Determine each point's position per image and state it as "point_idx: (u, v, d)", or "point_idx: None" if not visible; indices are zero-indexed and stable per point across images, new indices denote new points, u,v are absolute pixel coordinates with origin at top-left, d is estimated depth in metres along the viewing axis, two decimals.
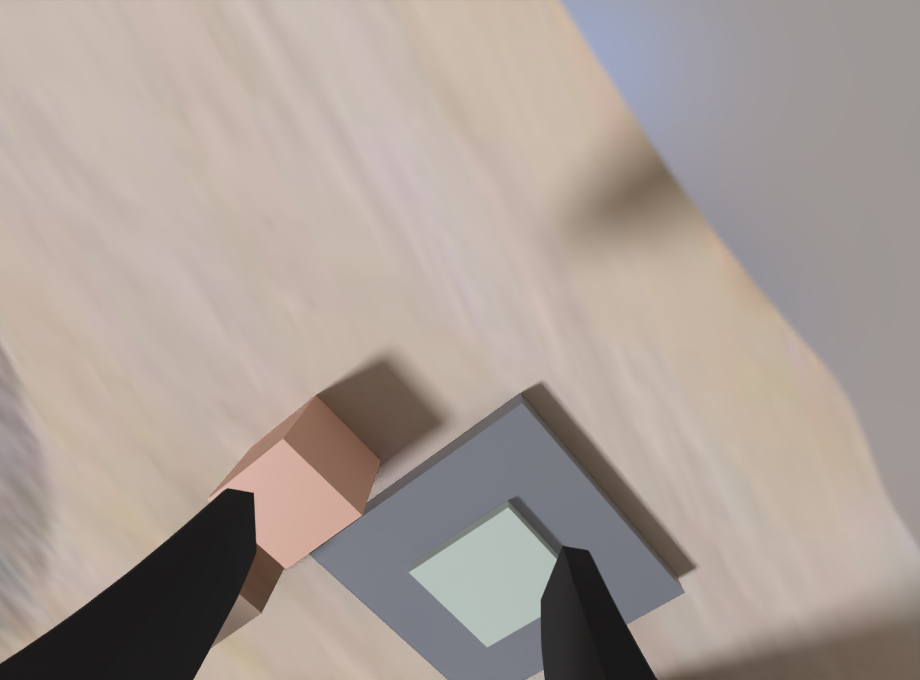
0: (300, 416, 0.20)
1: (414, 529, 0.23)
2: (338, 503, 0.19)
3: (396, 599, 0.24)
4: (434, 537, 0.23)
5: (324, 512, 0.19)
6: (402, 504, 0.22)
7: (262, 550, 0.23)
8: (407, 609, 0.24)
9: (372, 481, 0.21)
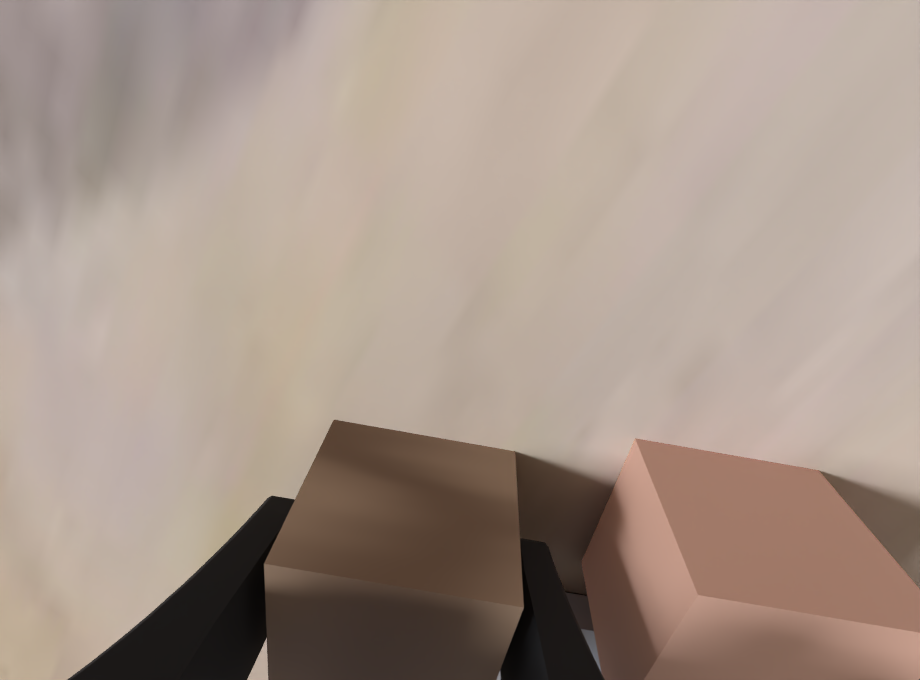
0: (878, 543, 0.09)
1: None
2: None
3: None
4: None
5: None
6: None
7: None
8: None
9: None
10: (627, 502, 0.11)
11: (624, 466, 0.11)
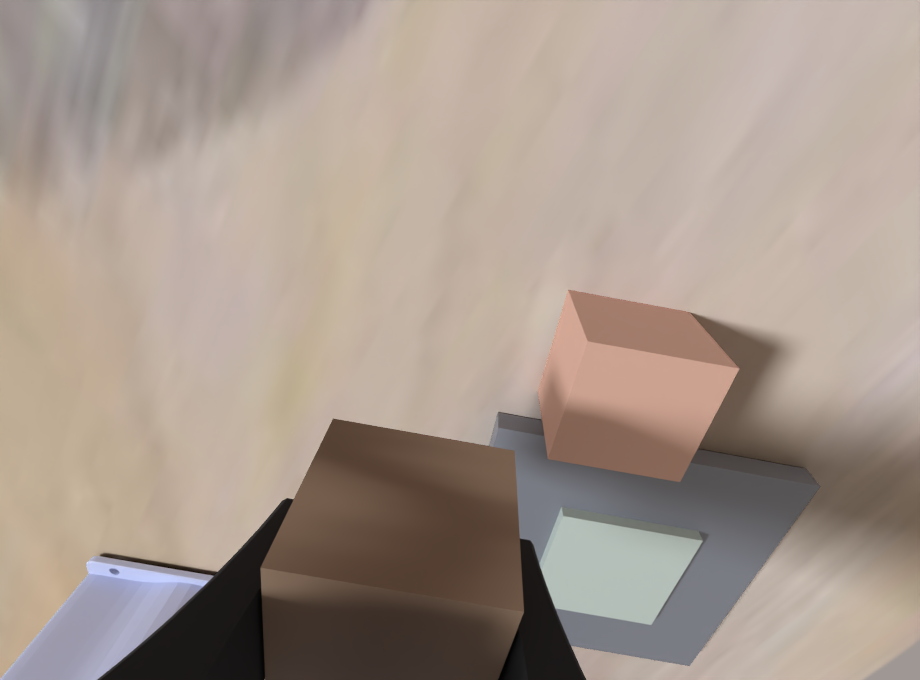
0: (711, 338, 0.15)
1: (607, 489, 0.20)
2: (681, 457, 0.15)
3: None
4: (610, 506, 0.20)
5: (658, 452, 0.15)
6: None
7: None
8: None
9: None
10: (562, 329, 0.17)
11: (562, 311, 0.17)
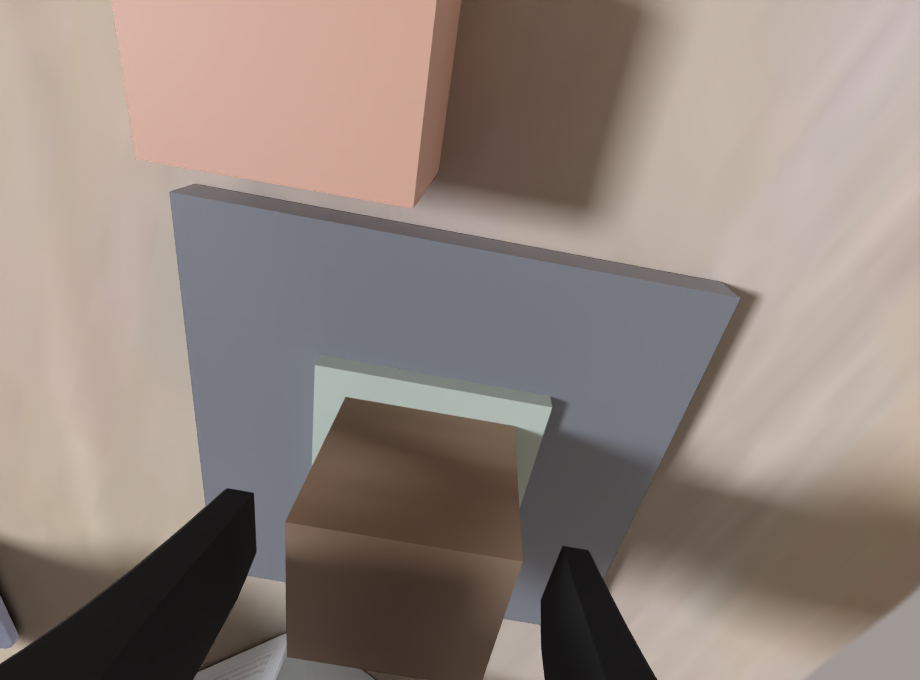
0: None
1: (385, 317, 0.12)
2: (397, 137, 0.07)
3: (245, 380, 0.13)
4: (399, 352, 0.12)
5: (348, 124, 0.07)
6: (412, 265, 0.11)
7: None
8: (247, 404, 0.13)
9: (430, 180, 0.09)
10: None
11: None
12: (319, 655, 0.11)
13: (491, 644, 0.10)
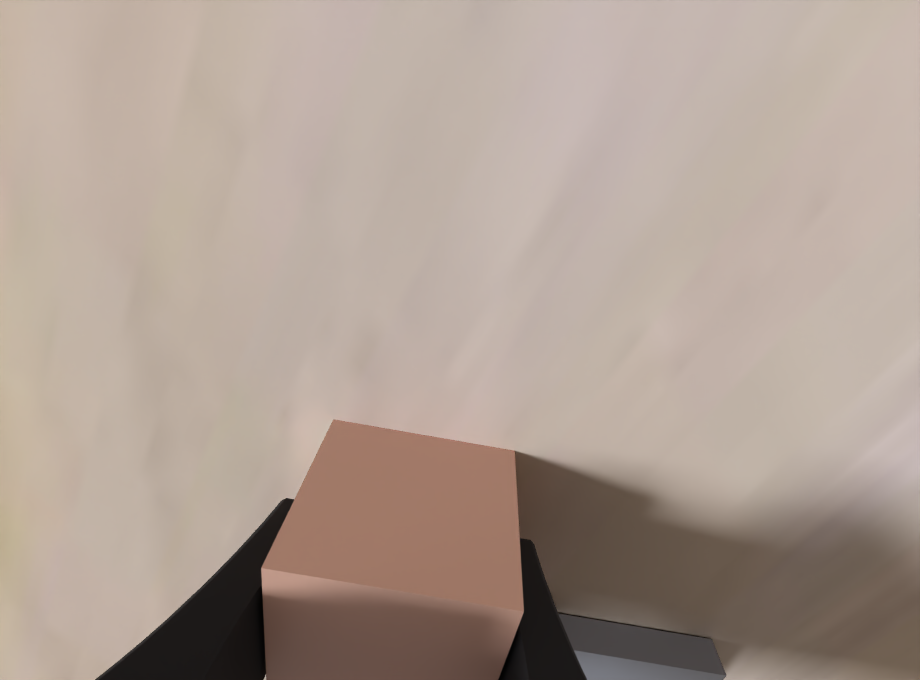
0: (517, 522, 0.10)
1: None
2: None
3: None
4: None
5: None
6: None
7: None
8: None
9: None
10: None
11: None
12: None
13: None
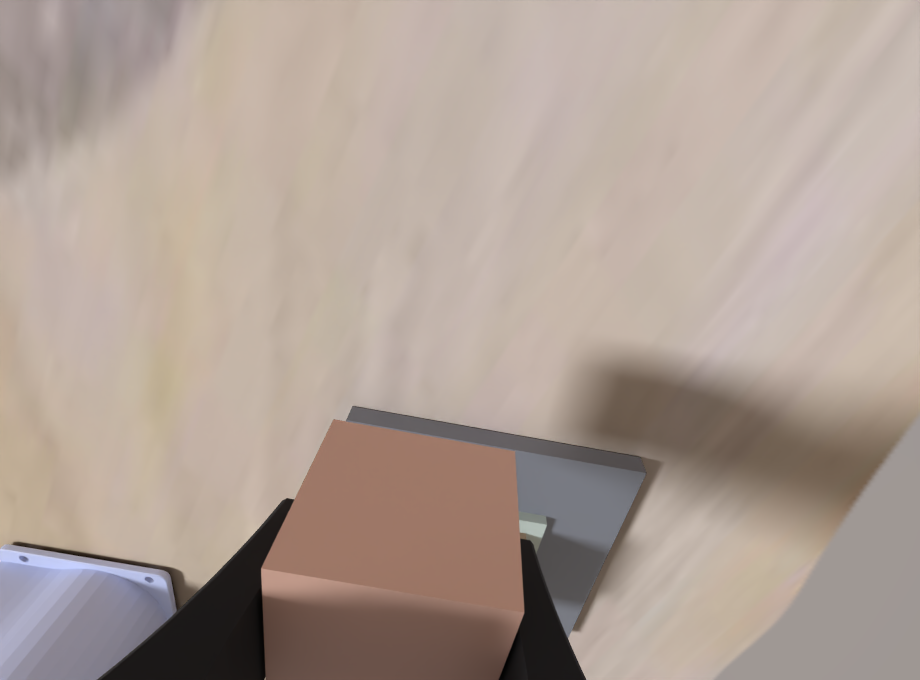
0: (518, 523, 0.10)
1: None
2: None
3: None
4: None
5: None
6: None
7: None
8: None
9: None
10: None
11: None
12: None
13: None
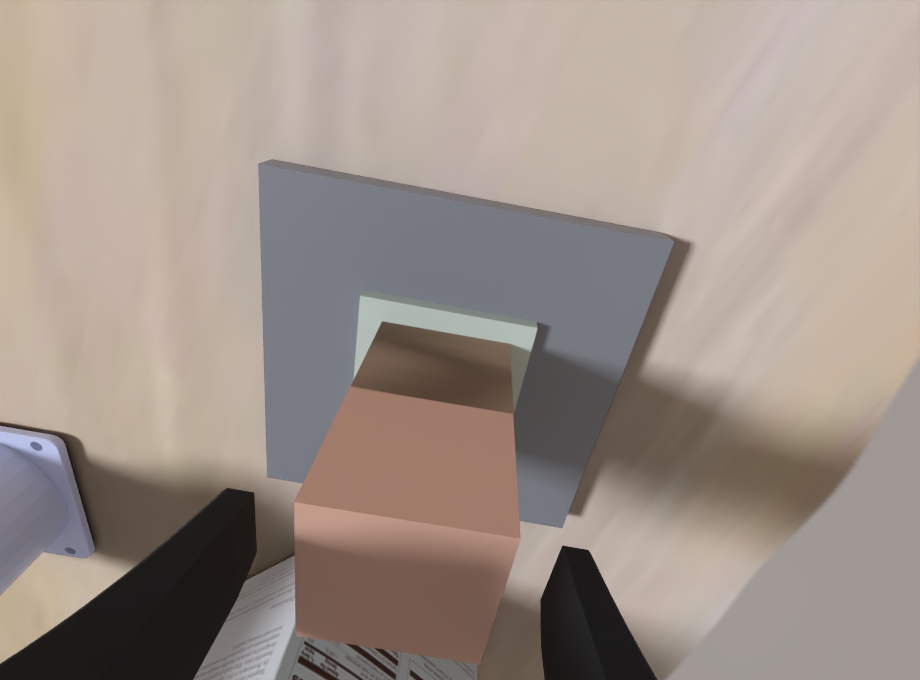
0: (515, 471, 0.11)
1: (413, 259, 0.16)
2: (473, 638, 0.11)
3: (304, 311, 0.17)
4: (423, 287, 0.16)
5: (440, 631, 0.11)
6: (434, 218, 0.15)
7: None
8: (305, 331, 0.17)
9: None
10: None
11: None
12: None
13: None
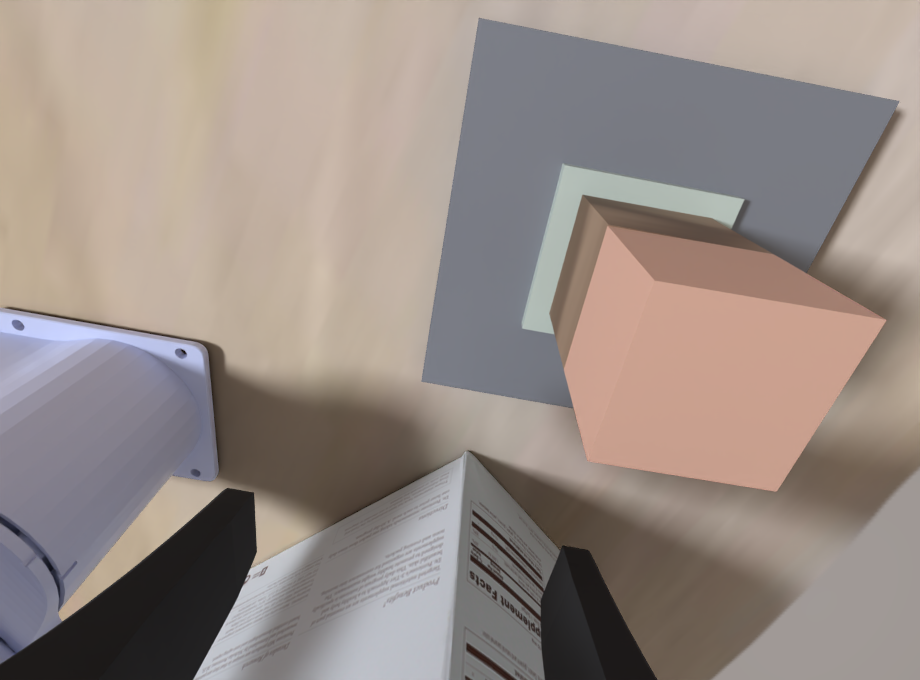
0: (822, 284, 0.11)
1: (621, 126, 0.15)
2: (782, 456, 0.10)
3: (496, 189, 0.16)
4: (625, 158, 0.16)
5: (749, 448, 0.10)
6: (652, 78, 0.15)
7: None
8: (492, 212, 0.17)
9: None
10: (601, 281, 0.12)
11: (599, 257, 0.12)
12: None
13: None
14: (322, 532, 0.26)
